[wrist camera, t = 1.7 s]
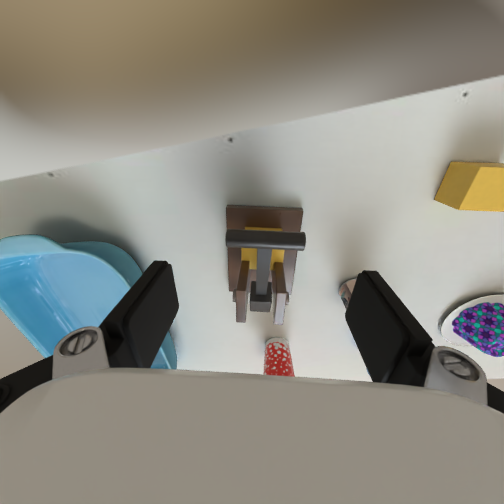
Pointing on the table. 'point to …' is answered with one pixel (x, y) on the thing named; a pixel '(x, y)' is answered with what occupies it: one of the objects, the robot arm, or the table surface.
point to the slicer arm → (264, 258)
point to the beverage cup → (278, 358)
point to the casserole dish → (66, 289)
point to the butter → (251, 253)
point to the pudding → (477, 325)
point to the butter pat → (473, 186)
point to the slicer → (241, 269)
